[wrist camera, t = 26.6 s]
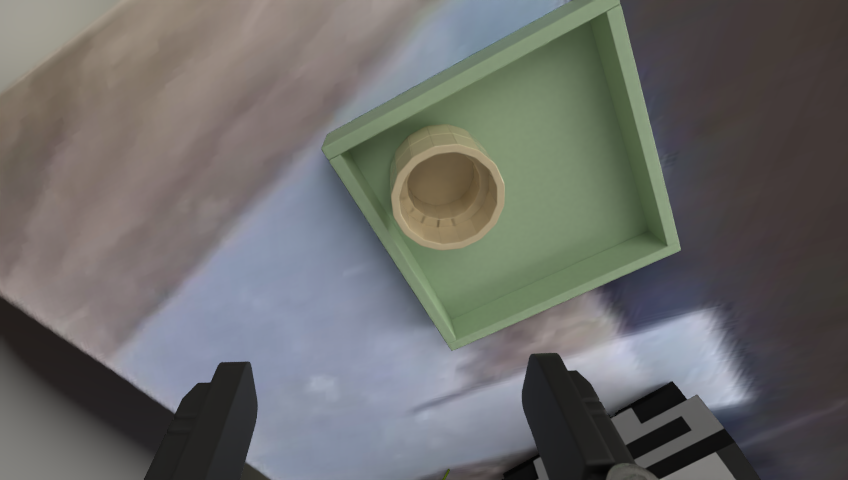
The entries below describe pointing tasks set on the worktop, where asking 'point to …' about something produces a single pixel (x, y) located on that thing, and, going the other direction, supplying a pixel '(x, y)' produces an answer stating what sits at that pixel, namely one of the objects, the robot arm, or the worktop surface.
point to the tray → (526, 171)
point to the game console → (669, 441)
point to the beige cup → (445, 188)
